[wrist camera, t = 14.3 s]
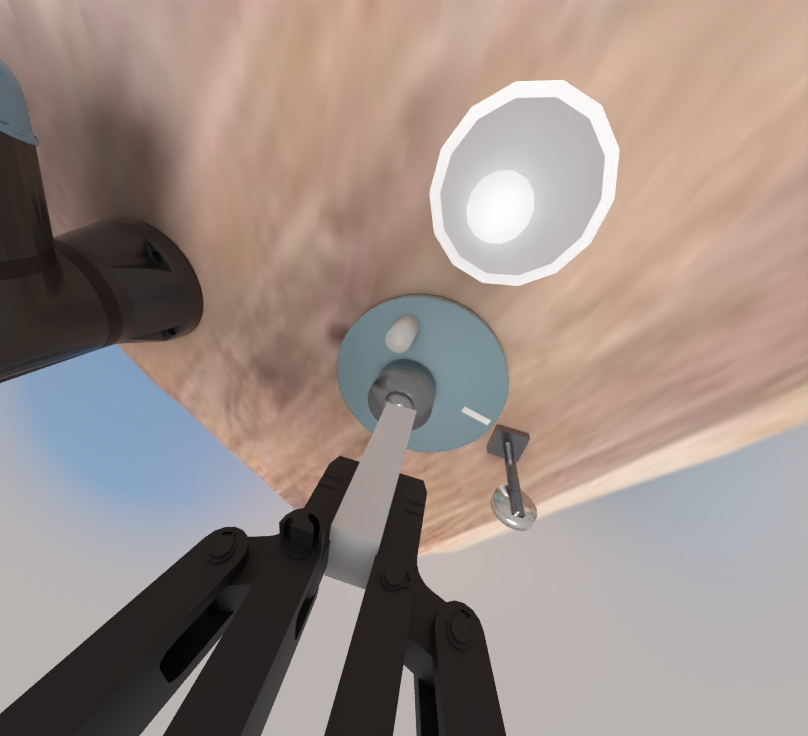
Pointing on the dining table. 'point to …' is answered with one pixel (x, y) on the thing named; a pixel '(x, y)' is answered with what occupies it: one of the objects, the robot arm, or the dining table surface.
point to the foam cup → (524, 182)
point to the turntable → (428, 366)
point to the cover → (404, 389)
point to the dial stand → (511, 480)
